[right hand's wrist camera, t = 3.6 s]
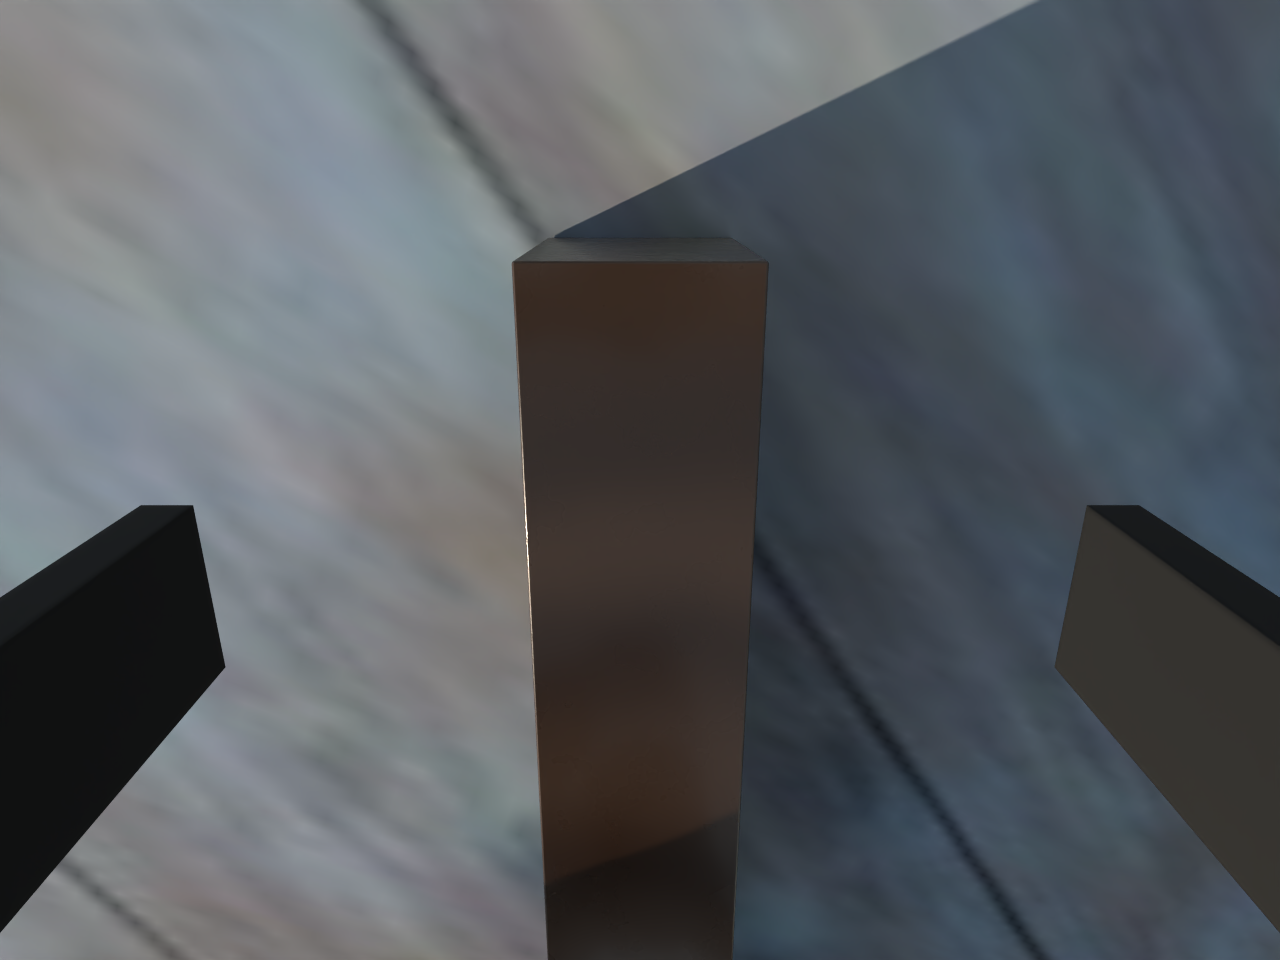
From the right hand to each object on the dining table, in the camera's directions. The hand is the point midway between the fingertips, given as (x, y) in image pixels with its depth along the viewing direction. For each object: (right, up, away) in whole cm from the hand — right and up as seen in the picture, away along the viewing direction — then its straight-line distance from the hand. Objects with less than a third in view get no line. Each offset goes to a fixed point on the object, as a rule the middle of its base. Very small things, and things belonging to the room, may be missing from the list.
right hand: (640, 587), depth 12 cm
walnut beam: (0, -7, +21) cm, 22 cm away
